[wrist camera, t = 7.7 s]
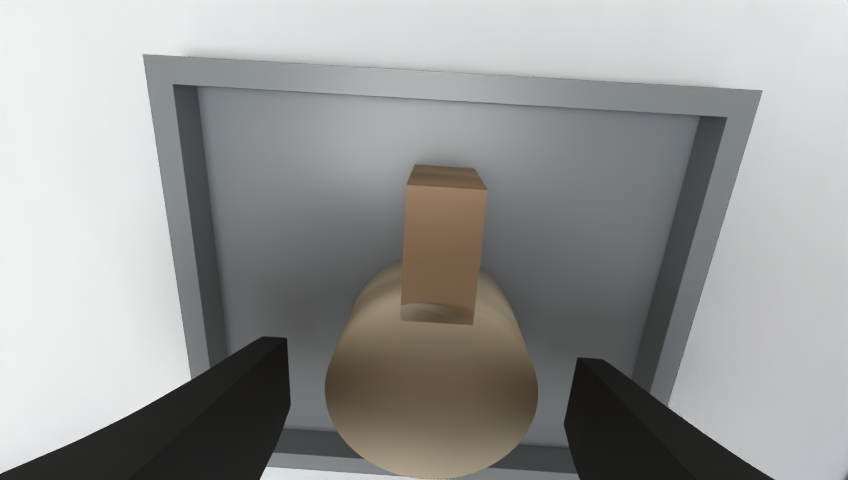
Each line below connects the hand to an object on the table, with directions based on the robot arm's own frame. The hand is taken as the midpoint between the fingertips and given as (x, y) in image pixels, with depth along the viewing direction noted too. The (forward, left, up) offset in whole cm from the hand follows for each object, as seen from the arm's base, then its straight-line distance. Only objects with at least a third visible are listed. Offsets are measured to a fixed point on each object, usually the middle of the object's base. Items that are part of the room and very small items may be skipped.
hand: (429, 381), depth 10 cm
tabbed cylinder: (0, -1, -2) cm, 3 cm away
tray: (0, -1, -3) cm, 3 cm away
